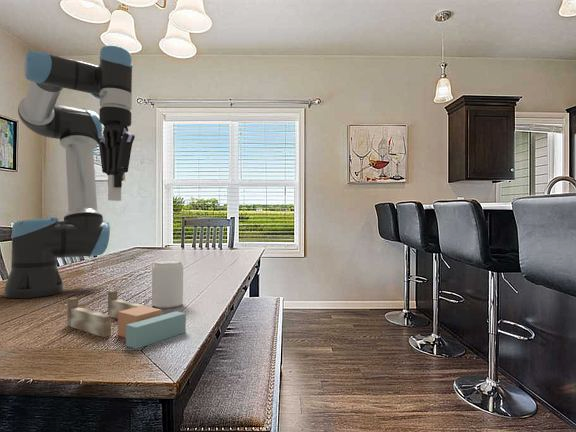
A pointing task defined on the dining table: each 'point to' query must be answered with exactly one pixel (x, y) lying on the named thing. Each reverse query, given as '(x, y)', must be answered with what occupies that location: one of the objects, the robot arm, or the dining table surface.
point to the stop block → (155, 329)
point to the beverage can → (167, 284)
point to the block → (135, 317)
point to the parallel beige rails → (97, 315)
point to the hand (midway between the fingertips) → (114, 200)
